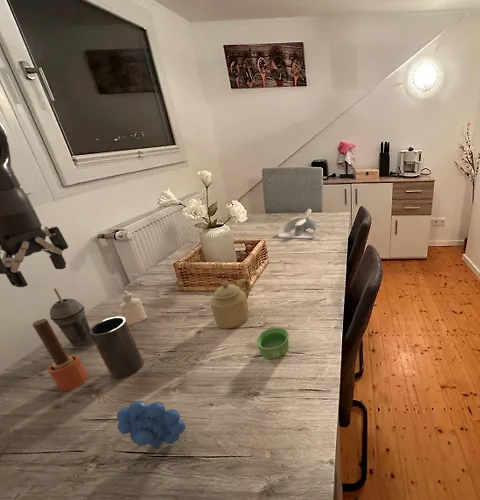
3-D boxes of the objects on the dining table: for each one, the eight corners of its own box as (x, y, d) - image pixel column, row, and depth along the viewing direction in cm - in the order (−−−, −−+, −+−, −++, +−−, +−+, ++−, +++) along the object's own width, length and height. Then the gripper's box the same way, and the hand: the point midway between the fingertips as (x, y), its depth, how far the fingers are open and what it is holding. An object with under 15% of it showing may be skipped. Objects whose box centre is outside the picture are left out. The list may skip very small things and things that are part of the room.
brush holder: (62, 396, 69) (49, 375, 66) (58, 385, 72) (45, 364, 69) (91, 381, 73) (80, 361, 70) (86, 371, 76) (75, 351, 73)
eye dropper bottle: (145, 322, 95) (133, 292, 90) (125, 327, 93) (112, 296, 88) (148, 315, 99) (137, 286, 94) (129, 319, 97) (116, 290, 92)
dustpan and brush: (276, 237, 167) (274, 222, 163) (295, 221, 196) (294, 207, 193) (313, 239, 163) (312, 223, 159) (327, 221, 193) (326, 208, 189)
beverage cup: (97, 332, 91) (71, 278, 83) (100, 342, 86) (72, 287, 78) (67, 343, 86) (36, 287, 78) (68, 355, 82) (35, 297, 74)
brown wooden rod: (66, 390, 70) (29, 329, 62) (63, 382, 72) (27, 322, 64) (84, 380, 72) (51, 320, 65) (81, 373, 75) (49, 315, 67)
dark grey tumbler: (116, 385, 72) (93, 339, 66) (108, 372, 76) (85, 327, 70) (148, 367, 77) (129, 323, 71) (139, 356, 81) (120, 313, 75)
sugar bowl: (223, 304, 104) (214, 268, 98) (254, 301, 105) (247, 265, 99) (211, 330, 90) (200, 290, 84) (246, 326, 92) (238, 287, 86)
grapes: (116, 470, 53) (91, 428, 49) (137, 435, 60) (116, 395, 55) (180, 461, 55) (162, 420, 50) (194, 427, 61) (179, 388, 56)
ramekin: (257, 344, 84) (254, 332, 82) (286, 335, 87) (285, 324, 85) (260, 365, 76) (258, 352, 75) (293, 354, 80) (291, 342, 78)
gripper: (29, 202, 67) (58, 263, 73) (-55, 220, 54) (-9, 293, 60) (58, 202, 66) (85, 263, 72) (-19, 220, 53) (22, 293, 59)
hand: (42, 277), depth 66 cm, fingers open, 8 cm apart
